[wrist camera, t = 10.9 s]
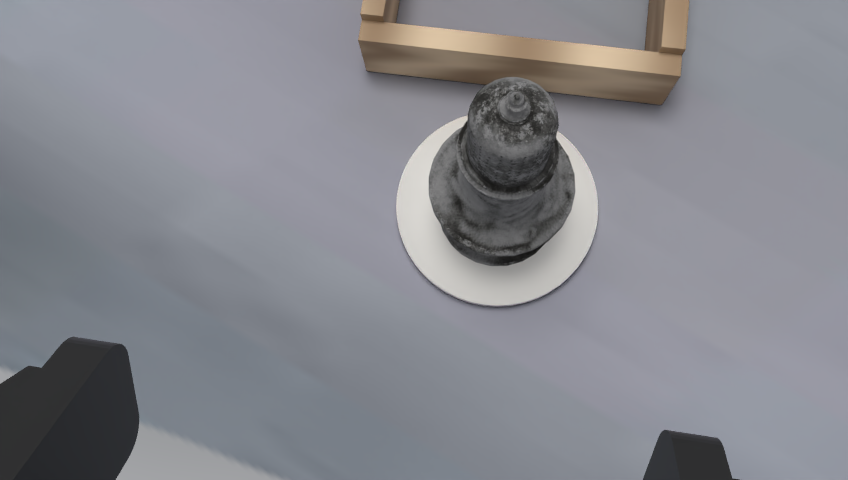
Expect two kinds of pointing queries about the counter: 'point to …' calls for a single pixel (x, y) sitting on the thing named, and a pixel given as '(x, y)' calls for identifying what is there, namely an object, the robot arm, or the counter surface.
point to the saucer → (479, 279)
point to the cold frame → (530, 55)
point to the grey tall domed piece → (503, 175)
